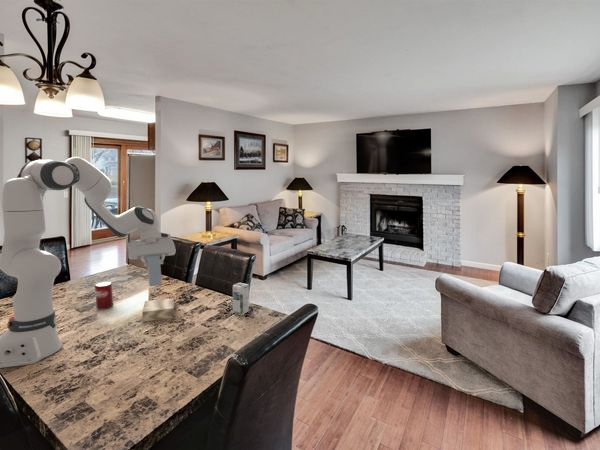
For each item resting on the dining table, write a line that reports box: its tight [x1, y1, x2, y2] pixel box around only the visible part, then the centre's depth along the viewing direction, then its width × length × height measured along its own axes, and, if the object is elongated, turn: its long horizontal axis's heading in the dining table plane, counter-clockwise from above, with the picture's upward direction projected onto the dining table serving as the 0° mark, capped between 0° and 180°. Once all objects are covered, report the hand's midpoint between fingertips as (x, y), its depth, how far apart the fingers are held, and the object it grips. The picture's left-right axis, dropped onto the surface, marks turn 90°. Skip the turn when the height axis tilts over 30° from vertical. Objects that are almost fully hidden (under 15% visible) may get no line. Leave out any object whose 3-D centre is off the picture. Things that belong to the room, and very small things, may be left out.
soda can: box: [94, 281, 114, 310], centre depth 160 cm, size 7×7×12 cm
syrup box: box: [232, 282, 250, 316], centre depth 156 cm, size 6×6×14 cm
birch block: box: [141, 297, 175, 322], centre depth 154 cm, size 13×13×5 cm
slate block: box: [146, 255, 163, 287], centre depth 148 cm, size 5×5×13 cm
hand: (154, 264), depth 148 cm, fingers closed on slate block, 5 cm apart
